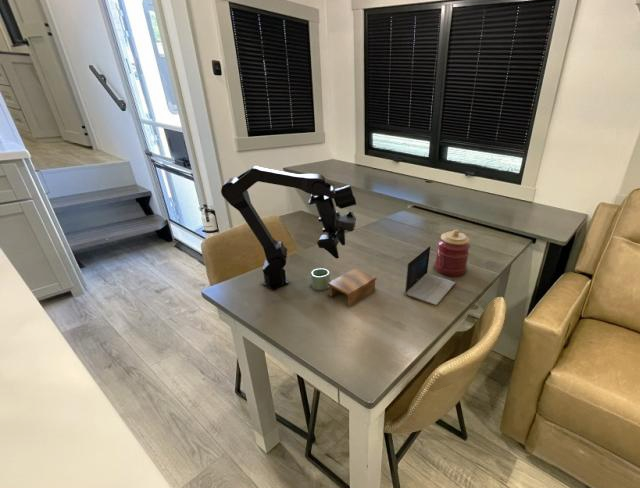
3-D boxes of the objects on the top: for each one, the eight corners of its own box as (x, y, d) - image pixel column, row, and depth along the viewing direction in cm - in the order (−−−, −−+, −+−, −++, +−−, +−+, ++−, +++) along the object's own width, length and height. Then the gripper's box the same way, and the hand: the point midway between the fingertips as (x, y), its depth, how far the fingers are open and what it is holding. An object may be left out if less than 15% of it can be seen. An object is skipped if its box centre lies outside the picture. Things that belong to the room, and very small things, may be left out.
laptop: (436, 306, 114) (440, 274, 107) (404, 294, 119) (407, 263, 113) (455, 284, 128) (460, 254, 121) (426, 274, 133) (429, 245, 126)
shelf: (349, 307, 110) (349, 293, 108) (328, 296, 115) (327, 282, 112) (376, 290, 120) (376, 277, 118) (355, 280, 125) (355, 267, 123)
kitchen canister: (471, 269, 139) (479, 231, 130) (453, 280, 130) (460, 239, 121) (446, 258, 146) (452, 221, 137) (428, 268, 137) (433, 228, 129)
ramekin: (320, 292, 117) (319, 278, 114) (308, 285, 120) (307, 272, 117) (333, 285, 121) (332, 272, 119) (321, 279, 124) (320, 266, 122)
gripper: (342, 221, 102) (356, 263, 110) (355, 198, 117) (366, 236, 126) (309, 225, 104) (325, 266, 113) (326, 202, 120) (339, 239, 128)
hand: (340, 251), depth 120 cm, fingers open, 9 cm apart
